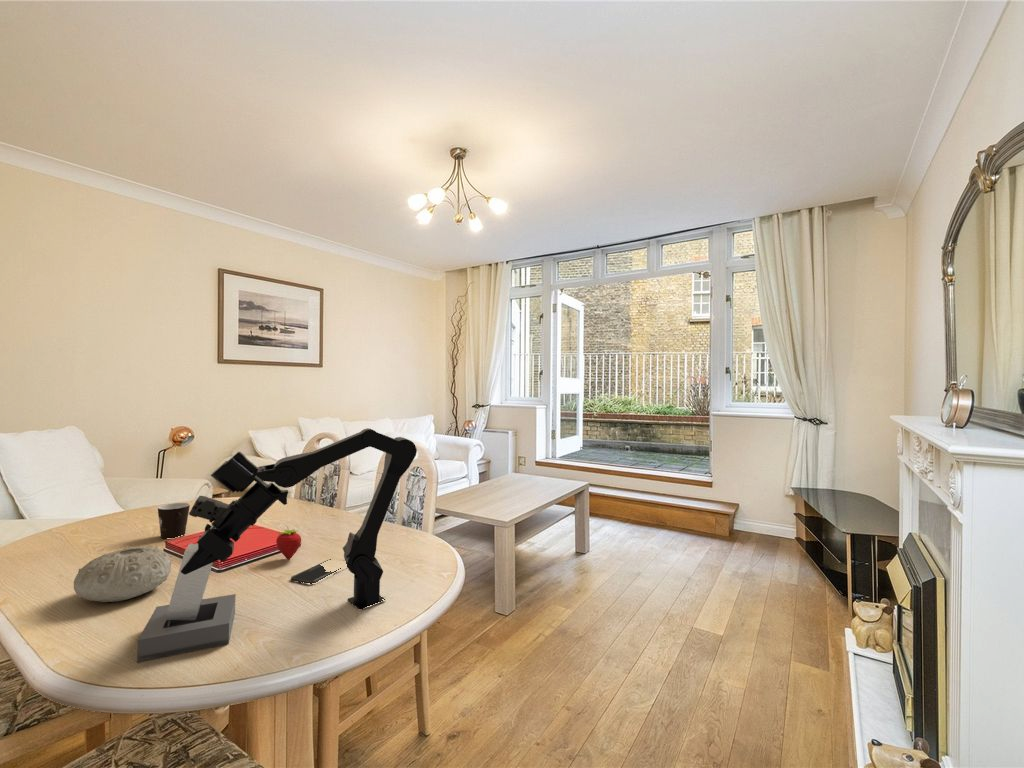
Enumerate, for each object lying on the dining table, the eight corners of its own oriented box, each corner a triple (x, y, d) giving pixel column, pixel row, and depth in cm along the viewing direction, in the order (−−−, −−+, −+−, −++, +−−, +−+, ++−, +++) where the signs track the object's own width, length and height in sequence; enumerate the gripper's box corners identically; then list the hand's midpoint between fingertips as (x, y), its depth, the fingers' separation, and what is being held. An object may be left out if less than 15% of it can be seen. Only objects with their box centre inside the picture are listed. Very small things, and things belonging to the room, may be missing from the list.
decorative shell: (51, 615, 97) (53, 568, 98) (102, 581, 114) (103, 541, 115) (149, 606, 102) (150, 561, 102) (183, 575, 119) (184, 537, 119)
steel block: (199, 609, 93) (217, 545, 95) (195, 620, 89) (214, 553, 90) (170, 608, 91) (189, 543, 93) (164, 619, 87) (184, 551, 88)
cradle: (235, 612, 100) (235, 593, 100) (228, 643, 87) (229, 623, 88) (156, 626, 94) (156, 606, 94) (136, 662, 81) (137, 640, 81)
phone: (353, 562, 128) (312, 582, 114) (353, 566, 128) (312, 587, 114) (331, 558, 131) (288, 577, 117) (331, 562, 131) (288, 581, 117)
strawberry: (288, 565, 127) (289, 529, 127) (270, 560, 130) (271, 525, 131) (306, 558, 133) (307, 524, 133) (288, 554, 136) (289, 520, 136)
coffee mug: (160, 533, 152) (161, 504, 153) (191, 531, 156) (192, 501, 156) (150, 544, 142) (151, 512, 142) (183, 541, 145) (184, 510, 146)
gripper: (224, 474, 101) (161, 530, 96) (212, 491, 85) (136, 559, 80) (263, 506, 105) (205, 561, 100) (259, 528, 88) (189, 596, 83)
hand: (185, 568), depth 90 cm, fingers closed on steel block, 5 cm apart
